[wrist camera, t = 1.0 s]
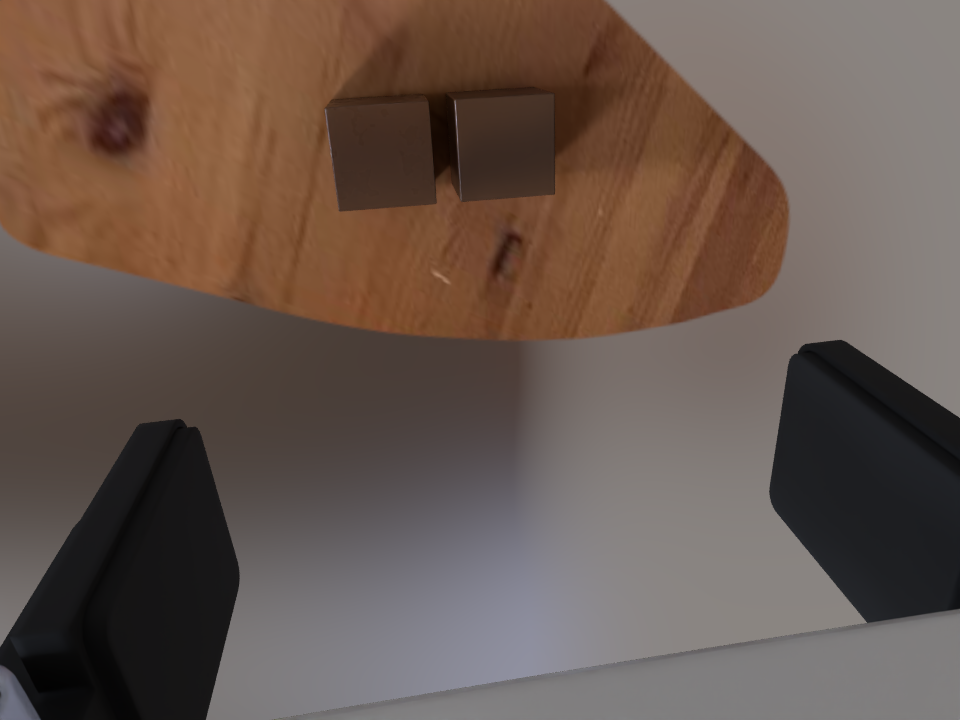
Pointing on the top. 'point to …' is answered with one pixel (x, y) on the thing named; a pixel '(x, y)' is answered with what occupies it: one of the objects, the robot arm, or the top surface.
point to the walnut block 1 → (381, 151)
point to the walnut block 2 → (501, 143)
